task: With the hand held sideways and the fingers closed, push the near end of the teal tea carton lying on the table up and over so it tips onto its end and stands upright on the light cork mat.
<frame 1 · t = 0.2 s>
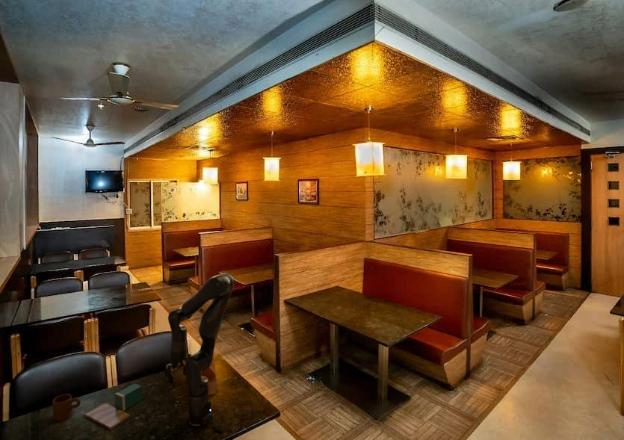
hand: (178, 378, 172), 17 cm above the table, tool pointing down, fingers open, 8 cm apart
mug: (68, 416, 169), on the table
cork mat: (107, 416, 169), on the table
bread: (204, 383, 198), on the table
tea carton: (128, 396, 179), point 4 cm above the table
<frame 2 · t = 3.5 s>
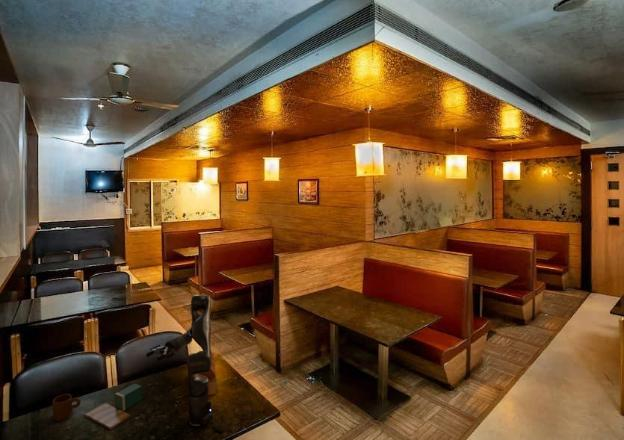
hand: (152, 357, 190), 18 cm above the table, tool horizontal, fingers open, 8 cm apart
nothing on the table moved.
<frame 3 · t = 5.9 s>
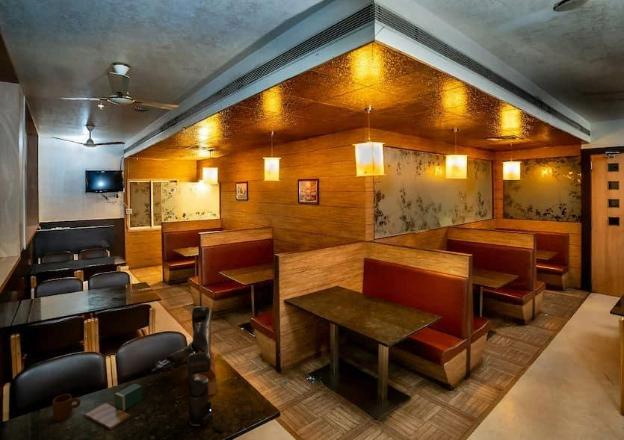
hand: (151, 372, 191), 10 cm above the table, tool horizontal, fingers closed
nothing on the table moved.
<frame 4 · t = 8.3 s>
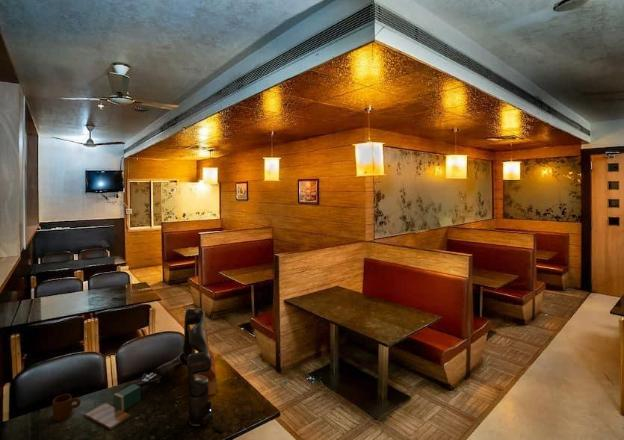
hand: (137, 386, 183), 7 cm above the table, tool horizontal, fingers closed
tea carton: (127, 397, 178), point 4 cm above the table, touching cork mat, gripper
everything else where it was.
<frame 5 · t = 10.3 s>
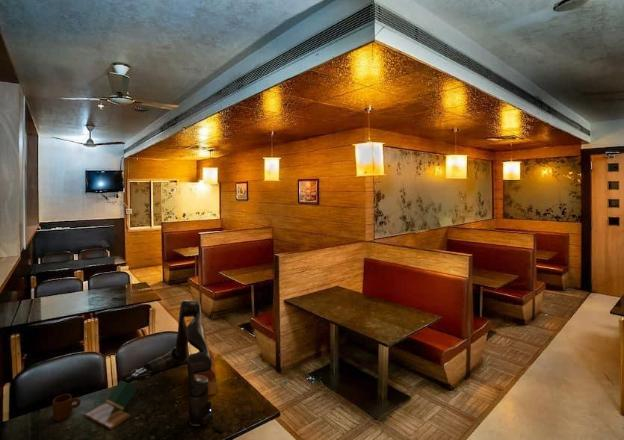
hand: (126, 381, 177), 13 cm above the table, tool horizontal, fingers closed
tea carton: (121, 395, 175), point 7 cm above the table, tilted 41°, touching cork mat, gripper
everything else where it was.
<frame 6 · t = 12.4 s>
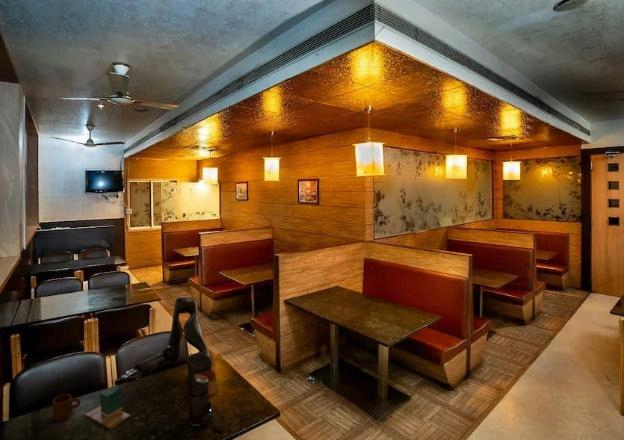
hand: (115, 383, 172), 14 cm above the table, tool horizontal, fingers closed
tea carton: (111, 401, 171), point 6 cm above the table, tilted 90°, touching cork mat
everything else where it was.
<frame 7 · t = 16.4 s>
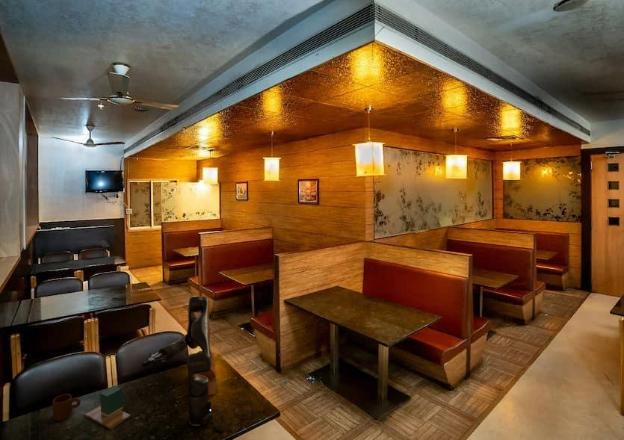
hand: (143, 365, 185), 17 cm above the table, tool horizontal, fingers closed
nothing on the table moved.
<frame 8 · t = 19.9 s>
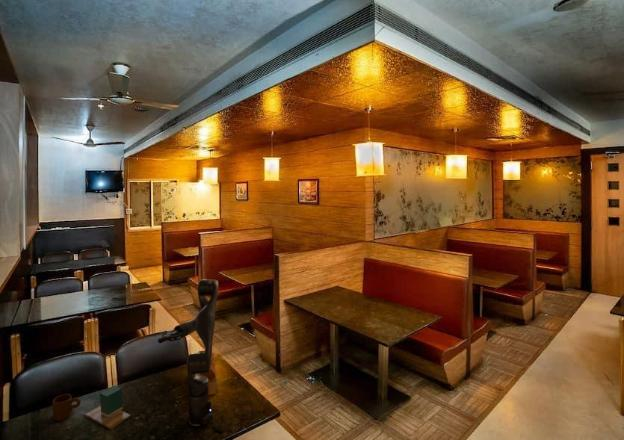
hand: (159, 341, 184), 30 cm above the table, tool horizontal, fingers closed
nothing on the table moved.
at the end: tea carton tilted 90°; tea carton inside the target area on the cork mat (1.5 cm from its centre), point 6.5 cm above the cork mat's base; the gripper is holding nothing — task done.
